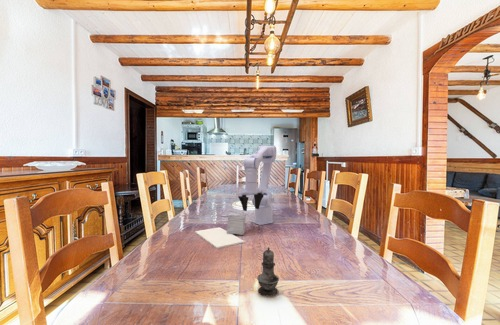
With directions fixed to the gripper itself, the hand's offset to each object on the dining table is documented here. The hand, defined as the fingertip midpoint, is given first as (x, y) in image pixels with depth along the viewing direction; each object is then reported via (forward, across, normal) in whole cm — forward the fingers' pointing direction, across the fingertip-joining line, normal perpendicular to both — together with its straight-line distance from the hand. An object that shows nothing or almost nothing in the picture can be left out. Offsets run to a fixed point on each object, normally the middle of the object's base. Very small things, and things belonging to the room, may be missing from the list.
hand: (251, 209), depth 120 cm
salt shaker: (+10, +30, +45) cm, 56 cm away
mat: (+10, +18, -1) cm, 21 cm away
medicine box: (+10, +9, 0) cm, 14 cm away
